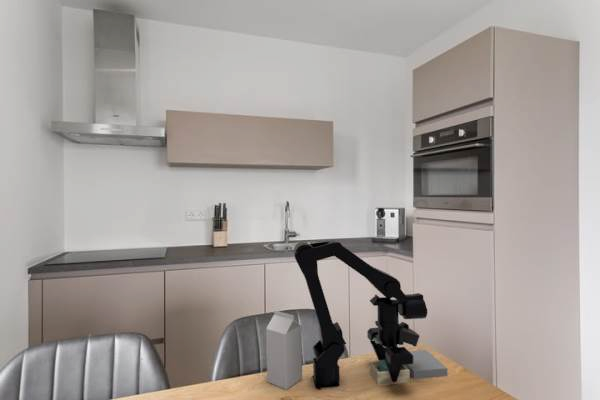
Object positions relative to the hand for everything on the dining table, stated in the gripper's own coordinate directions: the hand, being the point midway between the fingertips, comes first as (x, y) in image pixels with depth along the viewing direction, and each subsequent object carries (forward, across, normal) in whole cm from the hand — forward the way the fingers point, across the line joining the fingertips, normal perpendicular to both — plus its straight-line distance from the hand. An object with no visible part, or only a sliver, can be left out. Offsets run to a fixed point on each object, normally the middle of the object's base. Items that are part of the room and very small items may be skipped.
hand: (388, 375), depth 96 cm
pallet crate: (+1, 0, 0) cm, 1 cm away
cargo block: (0, 0, 0) cm, 0 cm away
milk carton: (+1, +4, +29) cm, 29 cm away
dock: (+1, +4, -12) cm, 12 cm away
